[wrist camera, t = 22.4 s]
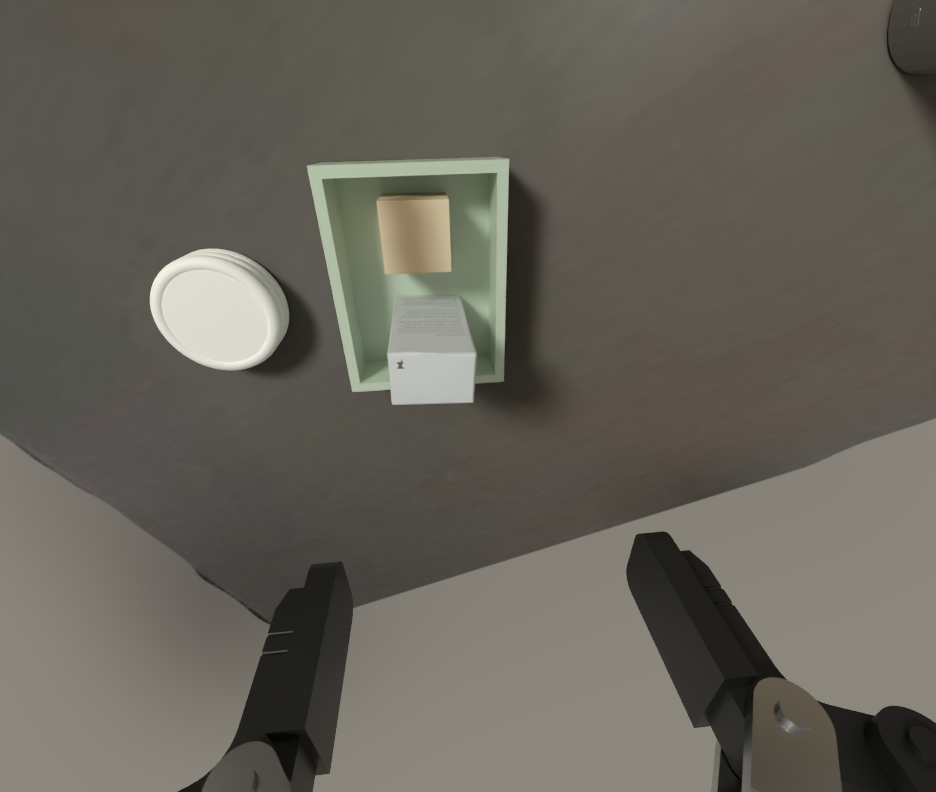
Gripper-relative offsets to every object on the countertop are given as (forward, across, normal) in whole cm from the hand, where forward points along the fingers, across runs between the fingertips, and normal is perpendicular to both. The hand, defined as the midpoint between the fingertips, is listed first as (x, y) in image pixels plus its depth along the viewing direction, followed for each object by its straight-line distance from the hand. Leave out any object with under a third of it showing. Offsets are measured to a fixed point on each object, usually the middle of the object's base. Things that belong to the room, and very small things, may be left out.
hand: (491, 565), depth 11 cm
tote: (+30, +2, 0) cm, 30 cm away
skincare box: (+30, +2, +4) cm, 30 cm away
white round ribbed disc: (+30, +19, +2) cm, 36 cm away
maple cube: (+30, +2, -4) cm, 30 cm away
